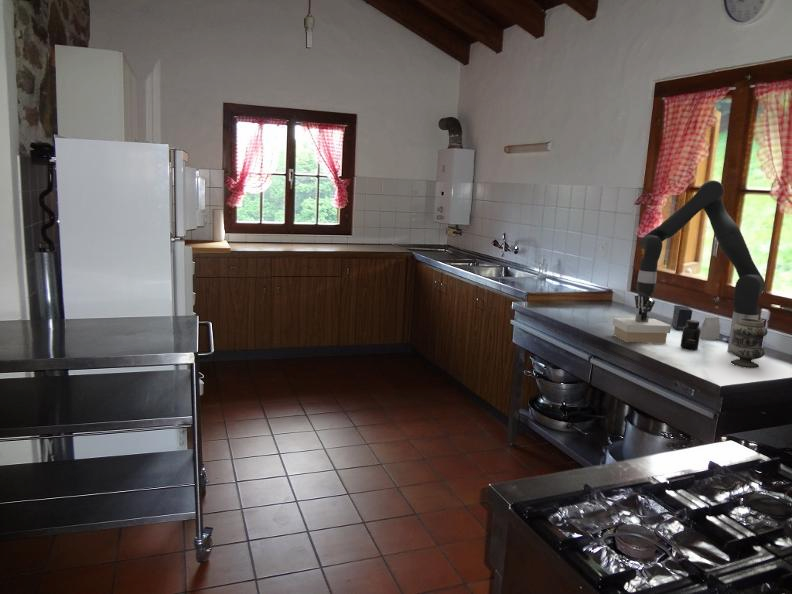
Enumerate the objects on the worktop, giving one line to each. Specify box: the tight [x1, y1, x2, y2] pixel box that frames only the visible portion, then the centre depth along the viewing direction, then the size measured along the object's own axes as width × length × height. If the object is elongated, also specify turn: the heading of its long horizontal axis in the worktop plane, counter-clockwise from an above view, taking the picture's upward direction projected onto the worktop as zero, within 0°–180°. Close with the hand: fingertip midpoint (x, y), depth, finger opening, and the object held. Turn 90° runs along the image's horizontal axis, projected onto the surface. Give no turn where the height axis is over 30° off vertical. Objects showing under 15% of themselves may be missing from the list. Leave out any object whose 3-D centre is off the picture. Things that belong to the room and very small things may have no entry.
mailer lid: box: [612, 314, 672, 334], centre depth 276 cm, size 14×20×6 cm
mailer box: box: [613, 326, 668, 344], centre depth 277 cm, size 12×18×7 cm, turn 97°
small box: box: [670, 304, 693, 331], centre depth 304 cm, size 11×6×10 cm, turn 168°
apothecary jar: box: [729, 318, 768, 369], centre depth 243 cm, size 12×12×18 cm
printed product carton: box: [700, 316, 721, 341], centre depth 285 cm, size 4×7×10 cm, turn 101°
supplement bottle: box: [680, 319, 701, 351], centre depth 265 cm, size 7×7×12 cm
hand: (641, 319), depth 276 cm, fingers closed on mailer lid
